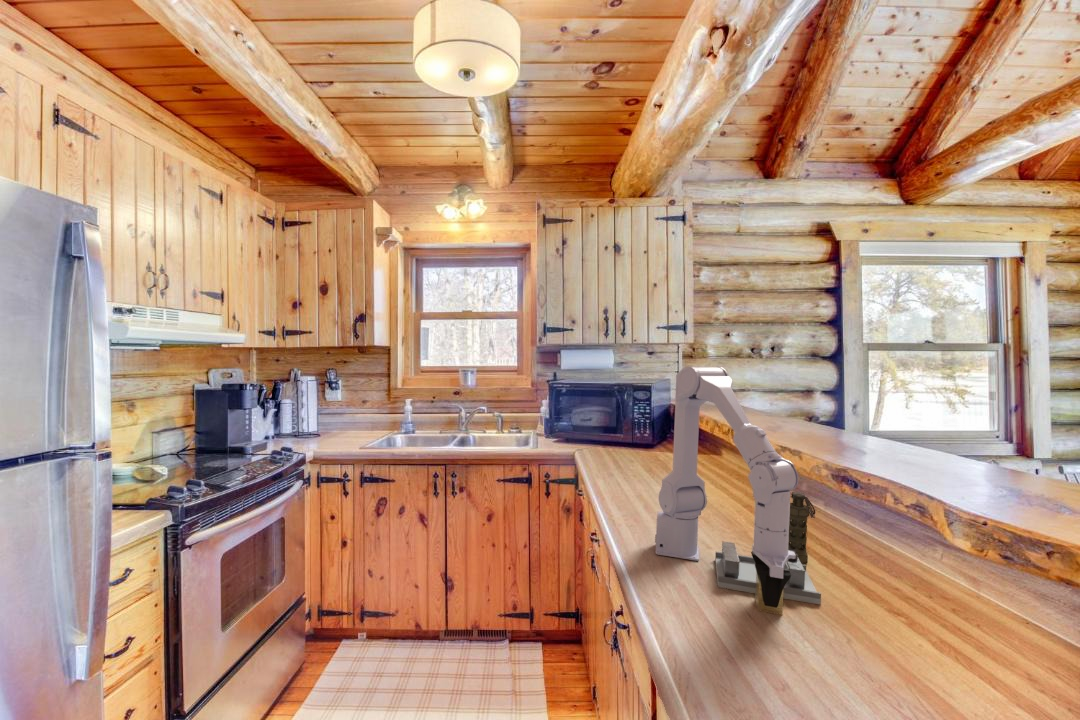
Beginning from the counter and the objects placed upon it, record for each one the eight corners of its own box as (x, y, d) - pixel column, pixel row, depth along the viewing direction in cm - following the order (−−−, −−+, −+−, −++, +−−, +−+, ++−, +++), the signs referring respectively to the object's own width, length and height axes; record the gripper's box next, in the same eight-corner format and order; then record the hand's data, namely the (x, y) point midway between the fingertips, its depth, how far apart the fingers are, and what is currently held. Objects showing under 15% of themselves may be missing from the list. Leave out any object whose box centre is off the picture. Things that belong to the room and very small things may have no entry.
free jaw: (788, 588, 91) (789, 563, 91) (779, 566, 100) (780, 543, 100) (804, 591, 90) (805, 565, 90) (793, 568, 99) (794, 545, 99)
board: (718, 587, 93) (718, 577, 93) (715, 559, 106) (715, 551, 106) (820, 604, 88) (821, 594, 88) (805, 573, 100) (805, 564, 100)
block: (757, 610, 85) (759, 580, 85) (755, 599, 89) (756, 570, 89) (782, 615, 84) (783, 584, 84) (778, 603, 88) (779, 574, 87)
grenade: (815, 568, 103) (818, 500, 102) (785, 562, 105) (788, 496, 105) (812, 553, 111) (814, 490, 110) (784, 548, 113) (786, 486, 113)
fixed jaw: (724, 579, 94) (725, 560, 94) (721, 559, 104) (722, 541, 104) (739, 582, 93) (739, 562, 93) (735, 561, 103) (735, 543, 103)
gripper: (804, 544, 78) (801, 625, 78) (788, 516, 92) (785, 585, 92) (758, 538, 80) (755, 616, 80) (748, 511, 94) (746, 578, 94)
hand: (768, 599), depth 86 cm, fingers closed on block, 4 cm apart
